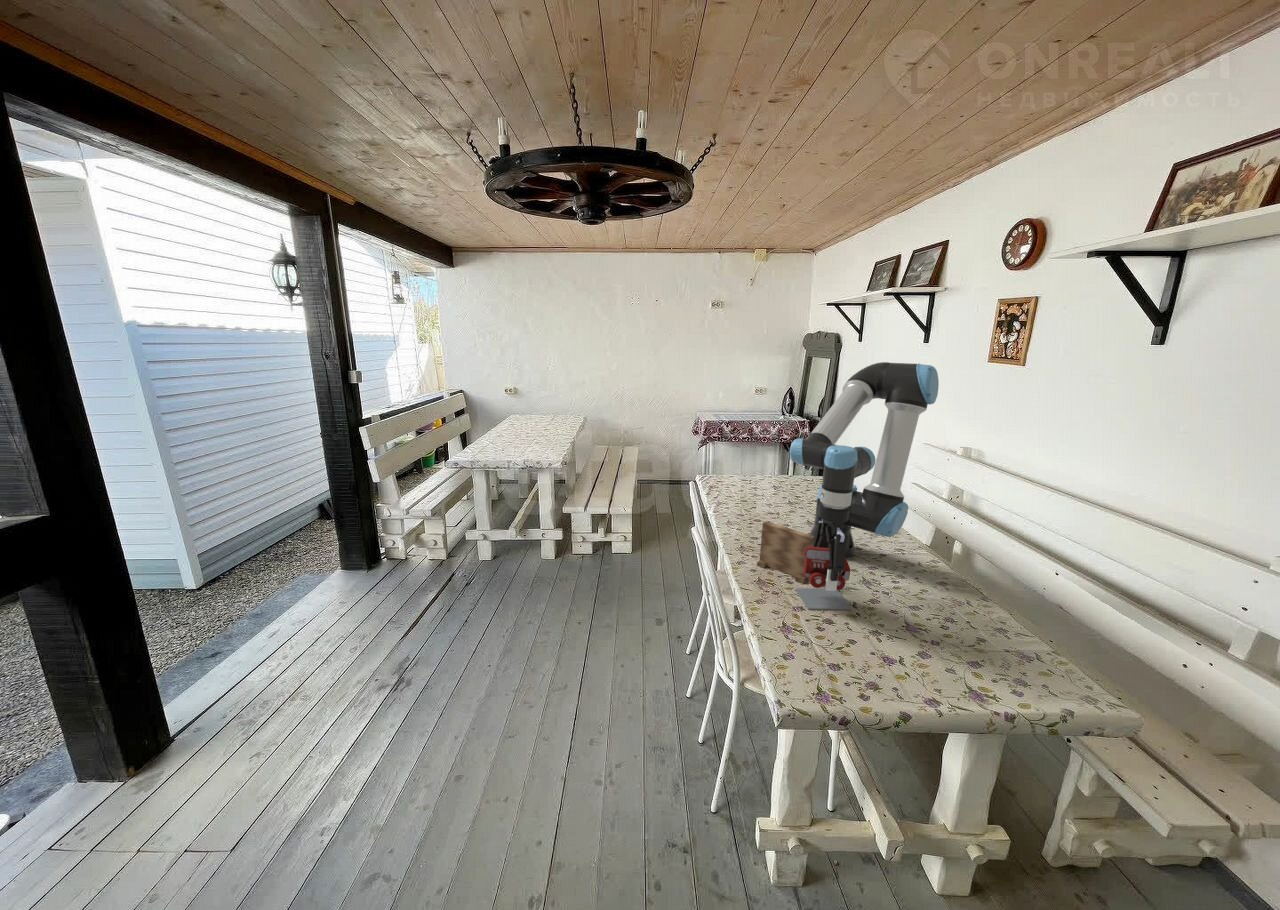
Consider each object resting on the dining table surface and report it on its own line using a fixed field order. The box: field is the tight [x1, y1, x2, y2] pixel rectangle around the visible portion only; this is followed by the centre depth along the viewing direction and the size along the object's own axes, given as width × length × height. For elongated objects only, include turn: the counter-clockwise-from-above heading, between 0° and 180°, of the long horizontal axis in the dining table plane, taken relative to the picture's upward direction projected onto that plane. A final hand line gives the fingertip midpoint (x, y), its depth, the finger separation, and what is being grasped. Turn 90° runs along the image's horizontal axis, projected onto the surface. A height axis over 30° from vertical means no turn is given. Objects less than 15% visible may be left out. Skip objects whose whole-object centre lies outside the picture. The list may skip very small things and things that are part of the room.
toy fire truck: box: [803, 547, 851, 591], centre depth 127 cm, size 7×12×10 cm, turn 82°
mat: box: [794, 587, 853, 611], centre depth 130 cm, size 12×10×1 cm
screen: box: [756, 520, 815, 584], centre depth 144 cm, size 16×6×14 cm, turn 46°
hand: (824, 581), depth 128 cm, fingers closed on toy fire truck, 7 cm apart
